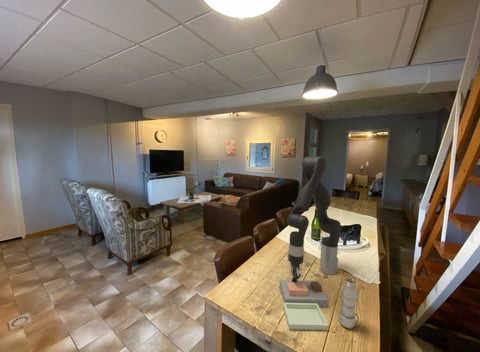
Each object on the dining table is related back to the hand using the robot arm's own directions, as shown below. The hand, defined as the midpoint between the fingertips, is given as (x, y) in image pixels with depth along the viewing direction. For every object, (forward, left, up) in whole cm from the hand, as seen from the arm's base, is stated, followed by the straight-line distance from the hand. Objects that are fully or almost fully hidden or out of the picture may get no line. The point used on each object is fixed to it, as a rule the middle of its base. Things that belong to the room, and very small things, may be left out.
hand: (294, 283), depth 103 cm
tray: (0, +16, -5) cm, 17 cm away
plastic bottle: (-18, +19, -5) cm, 26 cm away
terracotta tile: (0, +5, -1) cm, 5 cm away
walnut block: (-10, +3, -1) cm, 11 cm away
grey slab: (-3, +3, -5) cm, 7 cm away
